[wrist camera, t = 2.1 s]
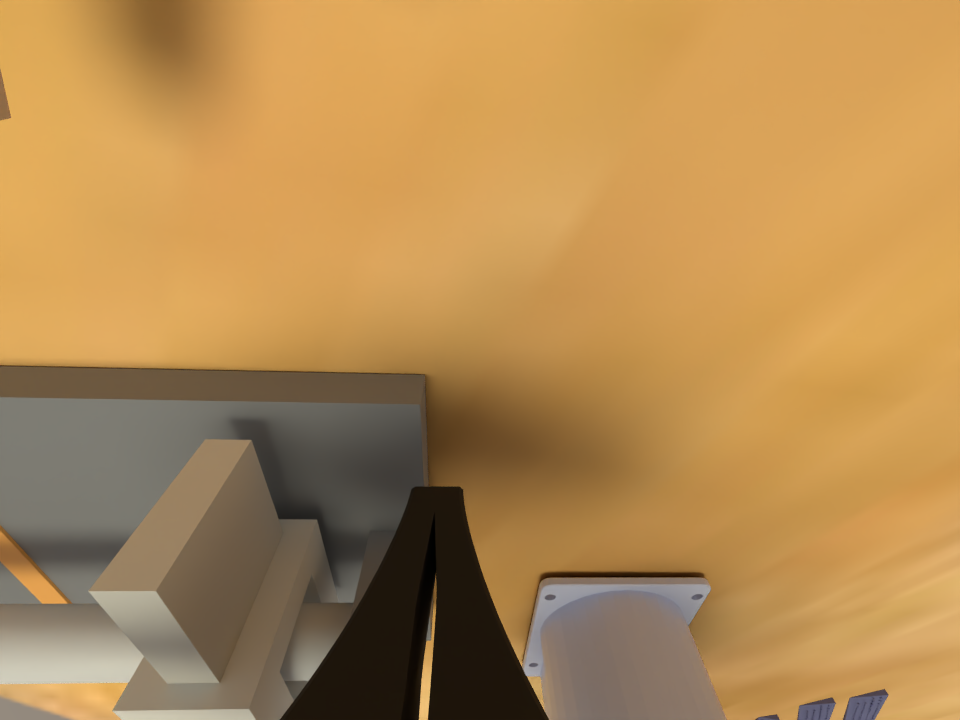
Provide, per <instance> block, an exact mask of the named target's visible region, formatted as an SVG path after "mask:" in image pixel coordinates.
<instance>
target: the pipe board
mask: <svg viewBox="0 0 960 720" xmlns="http://www.w3.org/2000/svg"><path fill="white" fill-rule="evenodd" d="M205 439H221V440H252V443H253V446H254V449H255V452H256V455H257V457H258V460H259V463H260V466H261V469H262V472H263V475H264V478H265V481H266V484H267V487H268V490H269V492H270V495H271V498H272V501H273V504H274V507H275V510H276V513H277V516H278V519H314V520H317V522H318V525H319V529H320V533H321V537H322V540H323V544H324V548H325V552H326V556H327V559H328V563H329V567H330V571H331V574H332V578H333V582H334V586H335V589H336V593H337V597H338V603H302V605H301V608H300V611H299V614H298V617H297V620H296V623H295V626H294V629H293V632H292V635H291V639H290V642H289V645H288V648H287V651H286V654H285V657H284V660H283V663H282V666H281V669H280V674H281V676H282V678H283V680H284V681H309V680H310V678H311V677H312V675H313V674H314V673H315V671H316V670H317V668H318V667H319V665H320V664H321V662H322V661H323V659H324V658H325V656H326V655H327V653H328V652H329V650H330V649H331V647H332V646H333V644H334V643H335V641H336V640H337V638H338V637H339V635H340V634H341V632H342V631H343V629H344V627H345V626H346V624H347V623H348V621H349V619H350V618H351V616H352V614H353V613H354V611H355V609H356V608H357V606H358V604H359V603H360V601H361V599H362V597H363V596H364V594H365V592H366V590H367V588H368V586H369V585H370V583H371V581H372V579H373V577H374V575H375V574H376V572H377V570H378V568H379V566H380V564H381V562H382V560H383V558H384V556H385V554H386V552H387V550H388V548H389V546H390V543H391V541H392V539H393V537H394V535H395V533H396V530H397V528H398V526H399V523H400V521H401V519H402V516H403V513H404V511H405V508H406V505H407V502H408V499H409V496H410V492H411V489H412V488H414V487H415V486H423V487H429V476H428V448H427V420H426V392H425V375H411V374H362V373H313V372H265V371H216V370H167V369H118V368H70V367H21V366H0V684H50V683H129V681H130V679H131V678H132V676H133V674H134V673H135V671H136V669H137V667H138V666H139V664H140V662H141V661H142V659H143V657H144V656H143V655H142V653H141V652H140V651H139V650H138V649H137V648H136V646H135V645H134V644H133V643H132V642H131V641H130V639H129V638H128V637H127V636H126V635H125V634H124V632H123V631H122V630H121V629H120V628H119V627H118V625H117V624H116V623H115V622H114V621H113V620H112V618H111V617H110V616H109V615H108V614H107V613H106V611H105V610H104V609H103V608H102V607H101V606H100V604H99V603H98V602H97V601H96V600H95V599H94V597H93V596H92V595H91V594H90V593H89V592H88V591H89V590H90V588H91V587H92V586H93V584H94V583H95V582H96V581H97V579H98V578H99V577H100V575H101V574H102V573H103V571H104V570H105V569H106V568H107V566H108V565H109V564H110V562H111V561H112V560H113V558H114V557H115V556H116V555H117V553H118V552H119V551H120V549H121V548H122V547H123V546H124V544H125V543H126V542H127V540H128V539H129V538H130V536H131V535H132V534H133V533H134V531H135V530H136V529H137V527H138V526H139V525H140V523H141V522H142V521H143V520H144V518H145V517H146V516H147V514H148V513H149V512H150V510H151V509H152V508H153V507H154V505H155V504H156V503H157V501H158V500H159V499H160V497H161V496H162V495H163V494H164V492H165V491H166V490H167V488H168V487H169V486H170V484H171V483H172V482H173V481H174V479H175V478H176V477H177V475H178V474H179V473H180V471H181V470H182V469H183V468H184V466H185V465H186V464H187V462H188V461H189V460H190V458H191V457H192V456H193V455H194V453H195V452H196V451H197V449H198V448H199V447H200V445H201V444H202V443H203V442H204V440H205ZM432 617H433V597H432V604H431V611H430V618H429V625H428V632H427V639H426V640H431V632H432Z"/></svg>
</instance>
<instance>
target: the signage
mask: <svg viewBox="0 0 960 720" xmlns="http://www.w3.org/2000/svg"><path fill="white" fill-rule="evenodd" d="M887 697H888V694H887V692H886V691H885V689H884V690H879V691H875V692H871V693H867V694H863V695H859V696H855V697H851V698H850V699H849V702H848V706H847V709H846V712H845V715H844V718H843V720H875V718H876V716H877V714H878V713H879V711H880V709H881V707H882V706H883V704H884V702H885V700H886V699H887ZM835 704H836V703H835V701H834V699H833V698H828V699H824V700H820V701H816V702H812V703H808V704H804V705H800V706H799V712H798V719H797V720H829V719H830V717H831V714H832V712H833V709H834V706H835ZM756 720H779V718H778V716H777V715H770V716H764V717H759V718H757V719H756Z"/></svg>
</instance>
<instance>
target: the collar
mask: <svg viewBox="0 0 960 720" xmlns="http://www.w3.org/2000/svg"><path fill="white" fill-rule="evenodd" d="M88 592H89V593H90V594H91V595H92V596H93V597H94V599H95V600H96V601H97V602H98V603H99V604H100V606H101V607H102V608H103V609H104V610H105V611H106V613H107V614H108V615H109V616H110V617H111V618H112V620H113V621H114V622H115V623H116V624H117V625H118V627H119V628H120V629H121V630H122V631H123V632H124V634H125V635H126V636H127V637H128V638H129V639H130V641H131V642H132V643H133V644H134V645H135V646H136V648H137V649H138V650H139V651H140V652H141V653H142V655H143V656H144V657H143V659H142V661H141V662H140V664H139V666H138V667H137V669H136V671H135V673H134V674H133V676H132V678H131V679H130V681H129V683H128V685H127V686H126V688H125V690H124V692H123V693H122V695H121V697H120V698H119V700H118V702H117V704H116V705H115V707H114V709H113V712H114V713H115V714H116V715H117V716H119V717H120V718H121V719H122V720H280V719H281V717H282V716H283V715H284V713H285V712H286V711H287V709H288V708H289V707H290V705H291V704H292V703H293V701H294V700H295V699H296V697H297V696H298V695H299V693H300V692H301V691H302V689H303V688H304V687H305V685H306V684H307V682H308V681H284V680H283V678H282V676H281V674H280V669H281V666H282V663H283V660H284V657H285V654H286V651H287V648H288V645H289V642H290V639H291V635H292V632H293V629H294V626H295V623H296V620H297V617H298V614H299V611H300V608H301V605H302V603H338V597H337V593H336V589H335V586H334V582H333V578H332V574H331V571H330V567H329V563H328V559H327V556H326V552H325V548H324V544H323V540H322V537H321V533H320V529H319V525H318V522H317V520H314V519H278V516H277V513H276V510H275V507H274V504H273V501H272V498H271V495H270V492H269V490H268V487H267V484H266V481H265V478H264V475H263V472H262V469H261V466H260V463H259V460H258V457H257V455H256V452H255V449H254V446H253V443H252V440H221V439H205V440H204V442H203V443H202V444H201V445H200V447H199V448H198V449H197V451H196V452H195V453H194V455H193V456H192V457H191V458H190V460H189V461H188V462H187V464H186V465H185V466H184V468H183V469H182V470H181V471H180V473H179V474H178V475H177V477H176V478H175V479H174V481H173V482H172V483H171V484H170V486H169V487H168V488H167V490H166V491H165V492H164V494H163V495H162V496H161V497H160V499H159V500H158V501H157V503H156V504H155V505H154V507H153V508H152V509H151V510H150V512H149V513H148V514H147V516H146V517H145V518H144V520H143V521H142V522H141V523H140V525H139V526H138V527H137V529H136V530H135V531H134V533H133V534H132V535H131V536H130V538H129V539H128V540H127V542H126V543H125V544H124V546H123V547H122V548H121V549H120V551H119V552H118V553H117V555H116V556H115V557H114V558H113V560H112V561H111V562H110V564H109V565H108V566H107V568H106V569H105V570H104V571H103V573H102V574H101V575H100V577H99V578H98V579H97V581H96V582H95V583H94V584H93V586H92V587H91V588H90V590H89V591H88Z"/></svg>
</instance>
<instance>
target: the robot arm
mask: <svg viewBox="0 0 960 720" xmlns="http://www.w3.org/2000/svg"><path fill="white" fill-rule="evenodd" d="M435 575H436V582H437V601H436V619H435V633H434V647H433V661H432V674H431V688H430V701H429V714H428V720H727V719H726V716H725V714H724V711H723V709H722V707H721V704H720V702H719V699H718V697H717V695H716V692H715V690H714V687H713V685H712V683H711V680H710V678H709V675H708V673H707V671H706V668H705V666H704V663H703V661H702V659H701V656H700V654H699V651H698V649H697V647H696V644H695V642H694V639H693V637H692V635H691V632H690V630H689V627H688V626H689V624H690V623H691V621H692V619H693V618H694V616H695V615H696V613H697V611H698V610H699V608H700V607H701V605H702V603H703V602H704V600H705V599H706V597H707V595H708V594H709V592H710V590H711V587H710V585H709V583H708V581H707V579H705V578H700V577H575V578H546V579H544V580H542V581H541V583H540V585H539V590H538V594H537V599H536V604H535V608H534V613H533V618H532V622H531V627H530V631H529V636H528V641H527V645H526V650H525V655H524V659H523V664H522V666H521V665H520V662H519V660H518V658H517V656H516V654H515V652H514V650H513V647H512V645H511V643H510V641H509V639H508V637H507V634H506V632H505V630H504V627H503V625H502V623H501V621H500V618H499V616H498V613H497V611H496V608H495V606H494V603H493V601H492V598H491V596H490V593H489V590H488V588H487V585H486V582H485V580H484V577H483V574H482V571H481V568H480V565H479V562H478V558H477V555H476V552H475V549H474V545H473V542H472V538H471V534H470V530H469V526H468V522H467V517H466V512H465V506H464V498H463V489H461V488H460V487H423V486H415V487H414V488H412V489H411V492H410V496H409V499H408V502H407V505H406V508H405V511H404V513H403V516H402V519H401V521H400V523H399V526H398V528H397V530H396V533H395V535H394V537H393V539H392V541H391V543H390V546H389V548H388V550H387V552H386V554H385V556H384V558H383V560H382V562H381V564H380V566H379V568H378V570H377V572H376V574H375V575H374V577H373V579H372V581H371V583H370V585H369V586H368V588H367V590H366V592H365V594H364V596H363V597H362V599H361V601H360V603H359V604H358V606H357V608H356V609H355V611H354V613H353V614H352V616H351V618H350V619H349V621H348V623H347V624H346V626H345V627H344V629H343V631H342V632H341V634H340V635H339V637H338V638H337V640H336V641H335V643H334V644H333V646H332V647H331V649H330V650H329V652H328V653H327V655H326V656H325V658H324V659H323V661H322V662H321V664H320V665H319V667H318V668H317V670H316V671H315V673H314V674H313V675H312V677H311V678H310V680H309V681H308V682H307V684H306V685H305V687H304V688H303V689H302V691H301V692H300V693H299V695H298V696H297V697H296V699H295V700H294V701H293V703H292V704H291V705H290V707H289V708H288V709H287V711H286V712H285V713H284V715H283V716H282V717H281V719H280V720H419V707H420V693H421V678H422V669H423V660H424V653H425V646H426V639H427V632H428V625H429V618H430V611H431V604H432V597H433V590H434V582H435ZM527 676H541V684H542V692H543V700H544V708H545V711H544V709H543V707H542V705H541V704H540V702H539V700H538V698H537V696H536V694H535V692H534V690H533V688H532V686H531V684H530V682H529V680H528V678H527Z"/></svg>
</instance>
